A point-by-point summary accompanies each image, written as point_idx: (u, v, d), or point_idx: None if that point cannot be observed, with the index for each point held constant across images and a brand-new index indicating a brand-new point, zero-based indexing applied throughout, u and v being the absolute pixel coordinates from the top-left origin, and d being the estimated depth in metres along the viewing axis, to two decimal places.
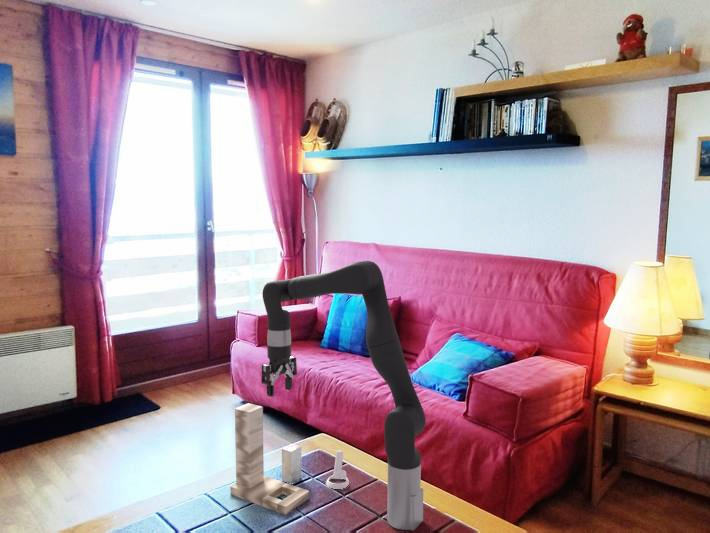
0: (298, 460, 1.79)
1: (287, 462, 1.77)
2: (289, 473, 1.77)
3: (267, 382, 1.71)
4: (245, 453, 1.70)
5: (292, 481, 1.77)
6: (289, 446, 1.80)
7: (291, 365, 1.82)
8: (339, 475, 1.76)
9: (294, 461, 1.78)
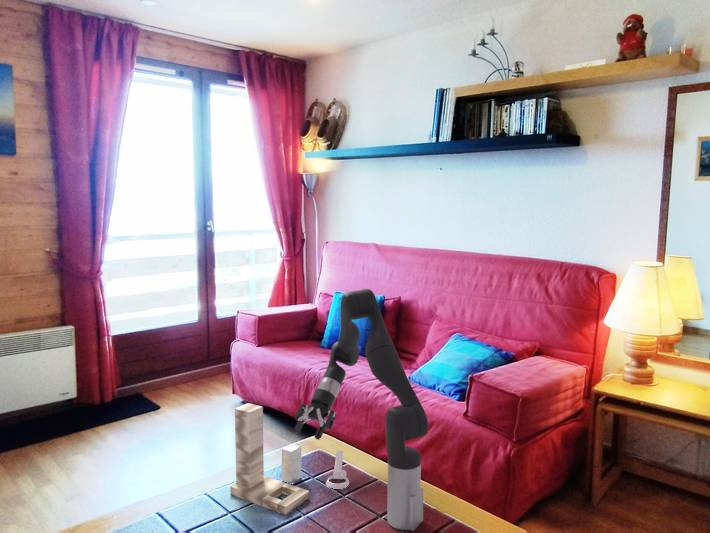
0: (298, 460, 1.79)
1: (287, 462, 1.77)
2: (289, 473, 1.77)
3: (295, 416, 1.91)
4: (245, 453, 1.70)
5: (292, 481, 1.77)
6: (289, 446, 1.80)
7: None
8: (339, 475, 1.76)
9: (294, 461, 1.78)
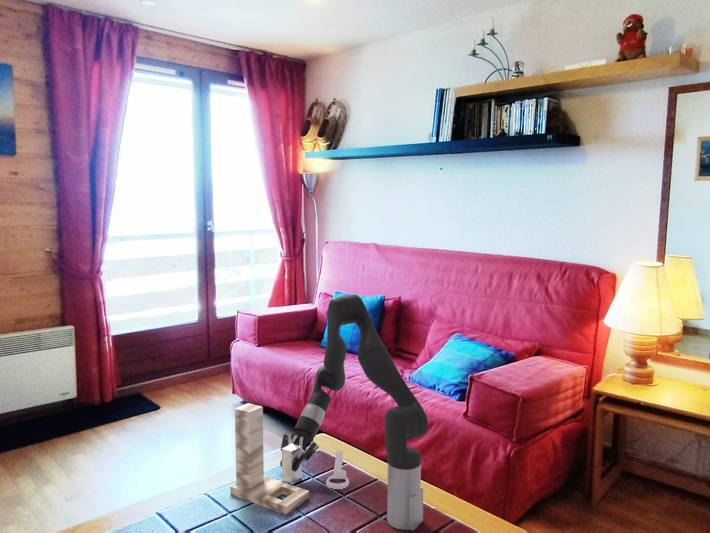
0: None
1: (287, 462, 1.77)
2: (289, 473, 1.77)
3: (281, 448, 1.83)
4: (245, 453, 1.70)
5: (292, 481, 1.77)
6: (289, 446, 1.80)
7: None
8: (339, 475, 1.76)
9: None
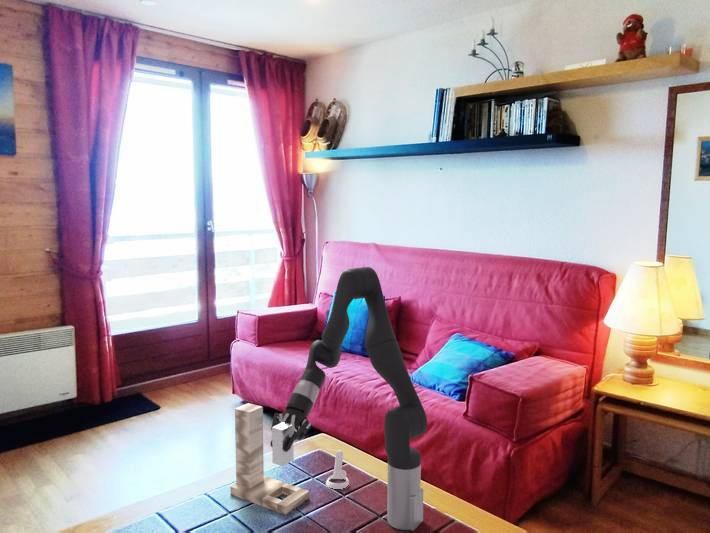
0: None
1: (278, 441, 1.64)
2: (280, 453, 1.64)
3: None
4: (245, 453, 1.70)
5: (283, 462, 1.64)
6: (280, 425, 1.67)
7: None
8: (339, 475, 1.76)
9: None
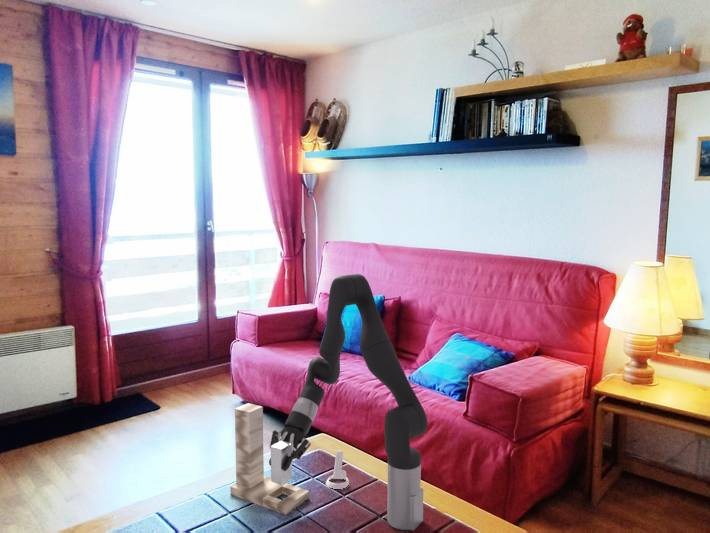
0: None
1: (277, 460, 1.63)
2: (278, 472, 1.63)
3: (270, 446, 1.69)
4: (245, 453, 1.70)
5: (282, 481, 1.64)
6: (279, 443, 1.66)
7: None
8: (339, 475, 1.76)
9: None
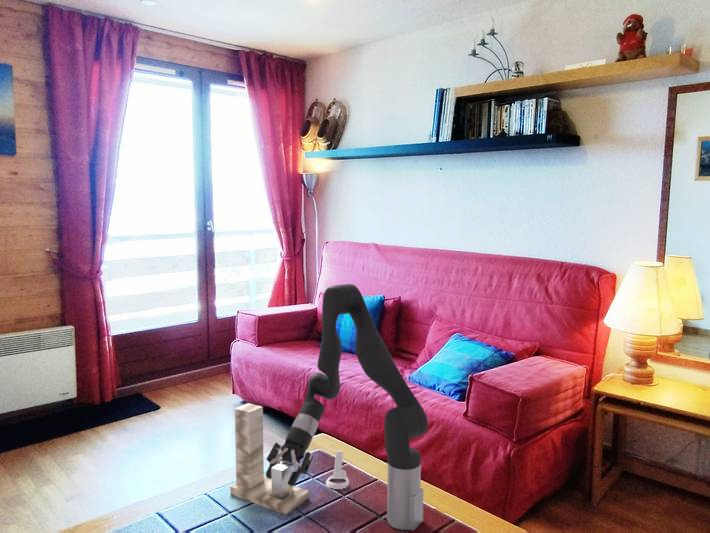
0: None
1: (278, 482, 1.64)
2: (279, 494, 1.64)
3: (267, 457, 1.71)
4: (245, 453, 1.70)
5: None
6: (279, 464, 1.67)
7: None
8: (339, 475, 1.76)
9: (285, 481, 1.65)
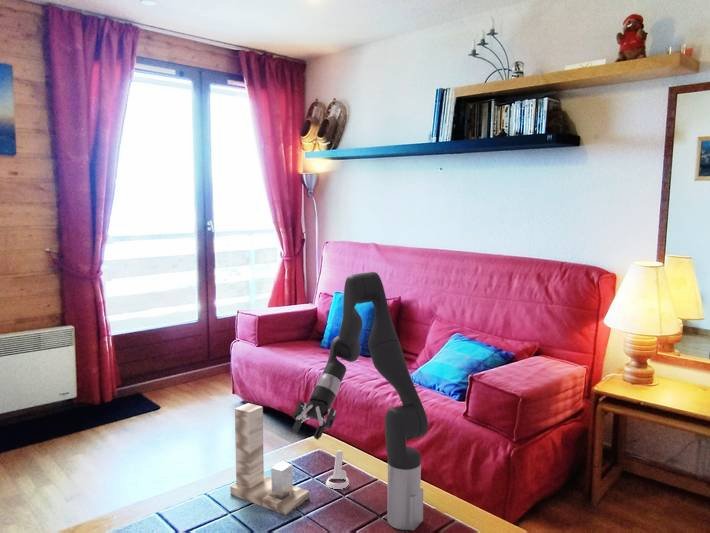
0: (289, 480, 1.66)
1: (278, 482, 1.64)
2: (279, 494, 1.64)
3: (293, 414, 1.81)
4: (245, 453, 1.70)
5: None
6: (279, 464, 1.67)
7: None
8: (339, 475, 1.76)
9: (285, 481, 1.65)
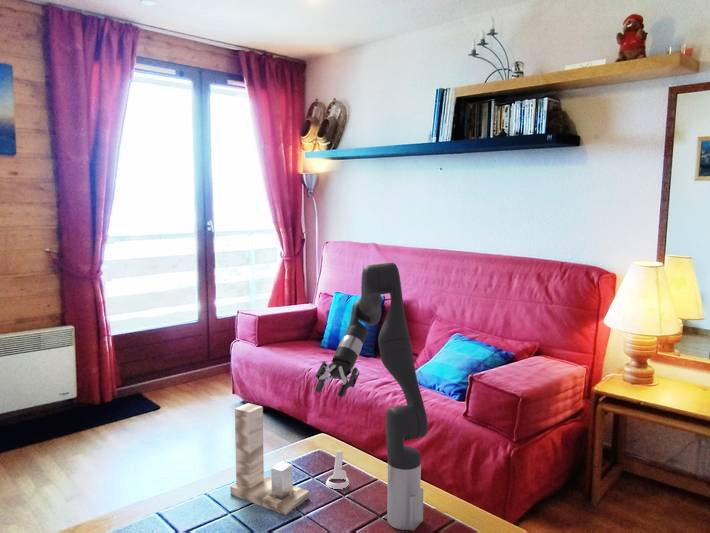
0: (289, 480, 1.66)
1: (278, 482, 1.64)
2: (279, 494, 1.64)
3: (316, 374, 1.84)
4: (245, 453, 1.70)
5: None
6: (279, 464, 1.67)
7: None
8: (339, 475, 1.76)
9: (285, 481, 1.65)
